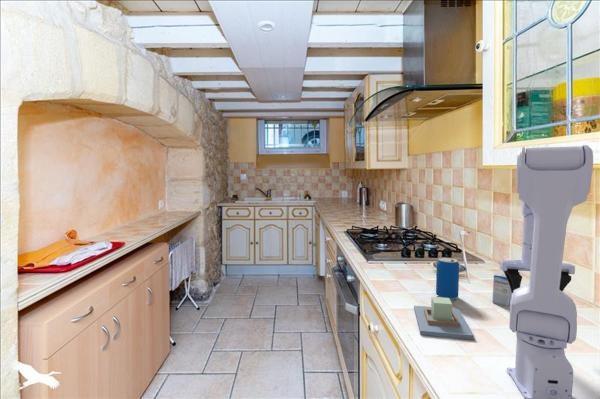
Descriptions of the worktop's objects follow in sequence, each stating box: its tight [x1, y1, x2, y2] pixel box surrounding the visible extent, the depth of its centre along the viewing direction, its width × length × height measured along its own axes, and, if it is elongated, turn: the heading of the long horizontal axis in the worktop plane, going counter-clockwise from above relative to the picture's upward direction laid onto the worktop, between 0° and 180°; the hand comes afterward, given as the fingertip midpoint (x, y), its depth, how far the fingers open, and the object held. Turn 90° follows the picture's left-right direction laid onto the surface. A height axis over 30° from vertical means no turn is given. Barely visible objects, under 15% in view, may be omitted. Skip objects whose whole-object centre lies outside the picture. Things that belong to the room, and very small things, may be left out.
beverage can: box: [435, 256, 460, 301], centre depth 108 cm, size 6×6×12 cm
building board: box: [413, 305, 475, 341], centre depth 90 cm, size 16×12×2 cm
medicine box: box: [492, 269, 512, 307], centre depth 105 cm, size 8×4×9 cm, turn 141°
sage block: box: [430, 296, 453, 321], centre depth 90 cm, size 4×4×5 cm
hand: (534, 302), depth 80 cm, fingers open, 7 cm apart
